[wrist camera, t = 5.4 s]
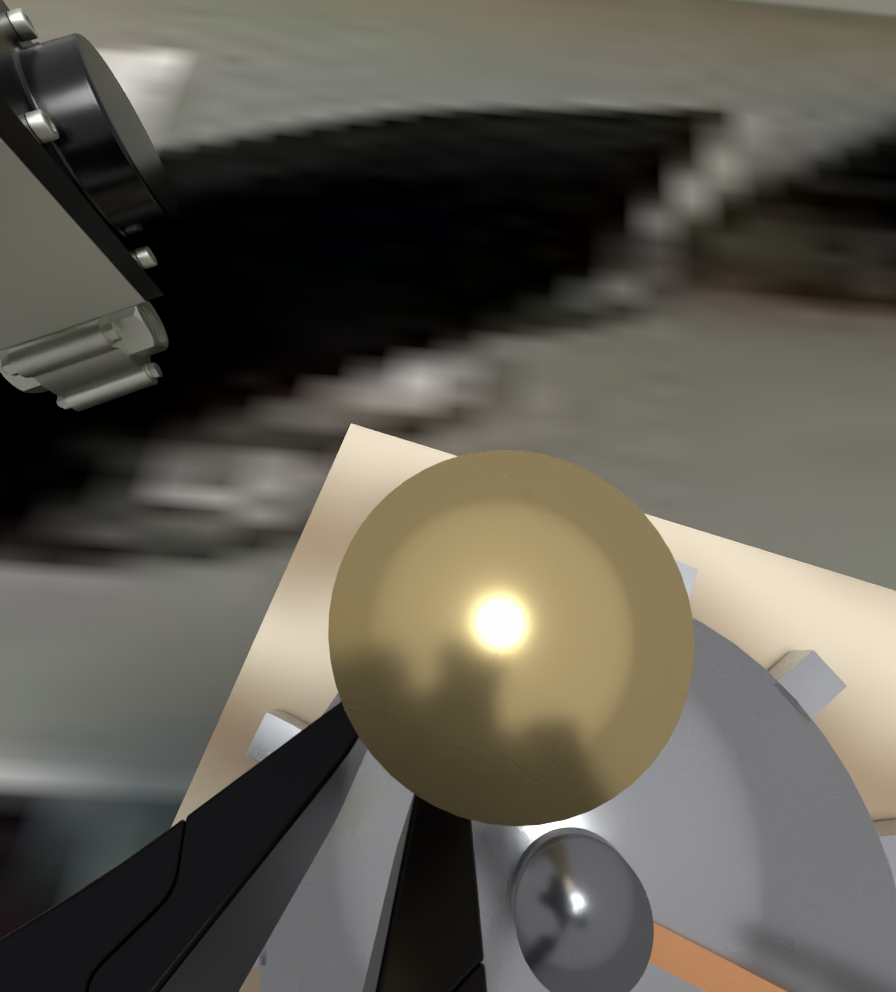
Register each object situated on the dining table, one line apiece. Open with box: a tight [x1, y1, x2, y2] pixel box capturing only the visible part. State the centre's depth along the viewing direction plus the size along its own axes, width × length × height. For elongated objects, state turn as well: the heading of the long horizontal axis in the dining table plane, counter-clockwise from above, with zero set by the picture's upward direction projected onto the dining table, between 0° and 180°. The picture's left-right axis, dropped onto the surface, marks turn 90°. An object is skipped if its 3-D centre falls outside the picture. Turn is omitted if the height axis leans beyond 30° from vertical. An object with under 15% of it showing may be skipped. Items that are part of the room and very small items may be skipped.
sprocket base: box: [171, 424, 896, 992], centre depth 13 cm, size 22×22×3 cm
